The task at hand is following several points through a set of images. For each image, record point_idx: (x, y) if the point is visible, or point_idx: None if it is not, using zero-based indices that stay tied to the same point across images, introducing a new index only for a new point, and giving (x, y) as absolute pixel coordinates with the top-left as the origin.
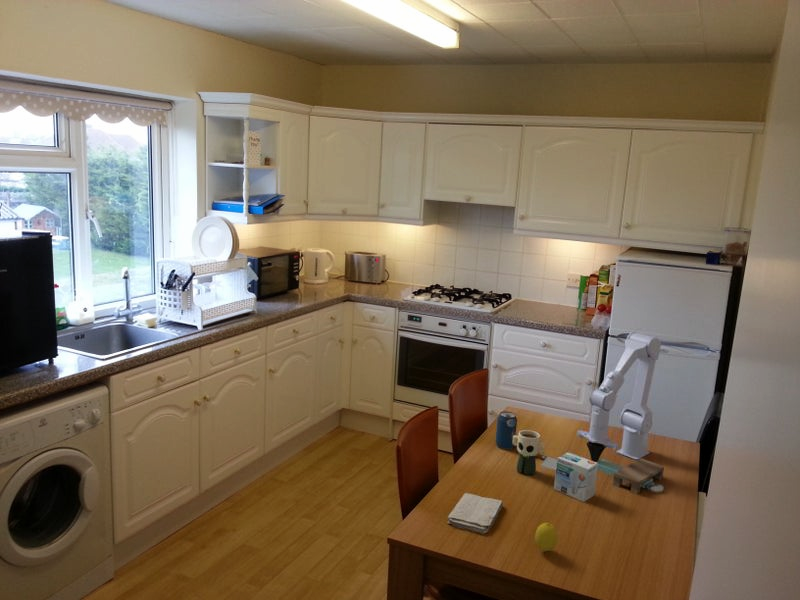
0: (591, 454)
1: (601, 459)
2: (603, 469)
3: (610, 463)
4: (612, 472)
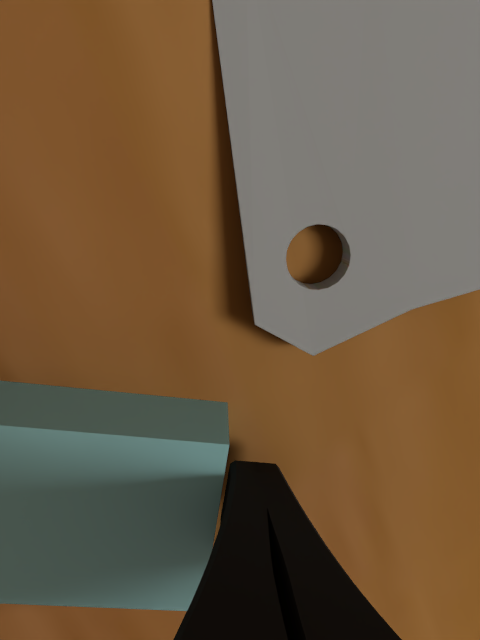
0: (314, 566)
1: None
2: (73, 408)
3: (64, 580)
4: None
